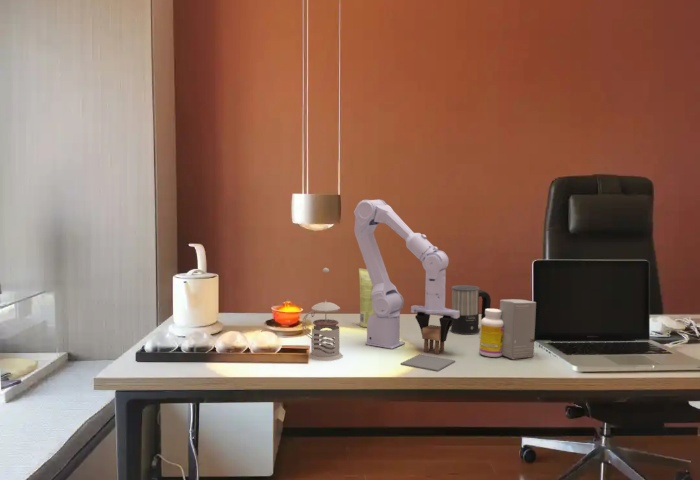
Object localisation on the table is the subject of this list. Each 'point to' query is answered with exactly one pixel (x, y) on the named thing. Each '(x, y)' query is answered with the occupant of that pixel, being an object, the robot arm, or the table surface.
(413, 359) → the pad
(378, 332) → the robot arm
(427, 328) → the tan box with knobs
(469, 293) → the milk frother
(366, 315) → the tube
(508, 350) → the skincare box
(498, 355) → the supplement bottle
